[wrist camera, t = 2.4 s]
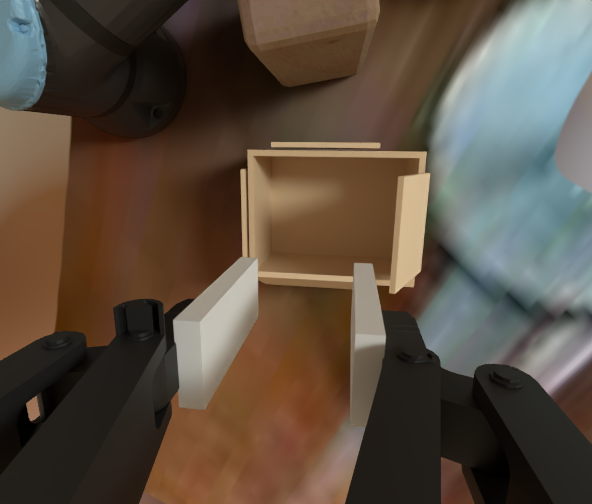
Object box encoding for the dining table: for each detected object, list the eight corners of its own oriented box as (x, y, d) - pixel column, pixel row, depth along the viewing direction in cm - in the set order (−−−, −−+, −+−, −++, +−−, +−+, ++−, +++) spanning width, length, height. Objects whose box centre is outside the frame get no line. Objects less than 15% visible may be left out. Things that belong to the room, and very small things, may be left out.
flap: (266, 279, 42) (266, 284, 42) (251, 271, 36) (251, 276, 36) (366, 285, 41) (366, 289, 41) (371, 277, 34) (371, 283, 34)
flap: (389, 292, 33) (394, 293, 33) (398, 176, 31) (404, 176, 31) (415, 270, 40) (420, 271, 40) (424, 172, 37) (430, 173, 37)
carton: (262, 256, 53) (243, 279, 43) (261, 144, 49) (239, 141, 40) (401, 263, 50) (413, 288, 41) (411, 145, 47) (427, 143, 37)
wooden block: (363, 74, 46) (383, 22, 26) (282, 89, 47) (243, 51, 28) (354, -21, 43) (367, -155, 24) (267, -2, 44) (215, -113, 25)
